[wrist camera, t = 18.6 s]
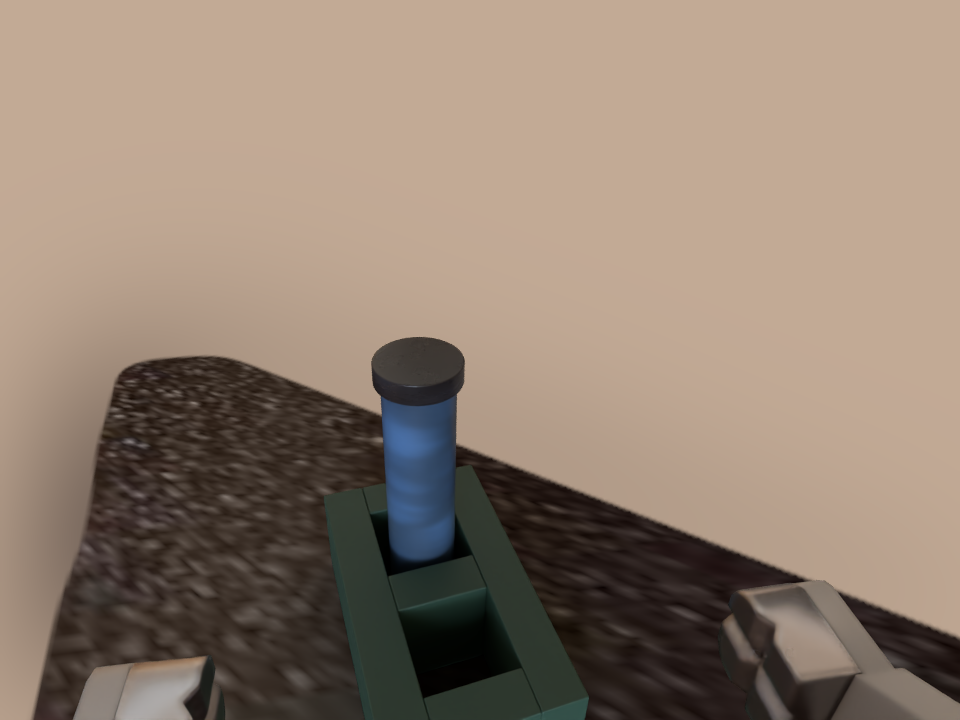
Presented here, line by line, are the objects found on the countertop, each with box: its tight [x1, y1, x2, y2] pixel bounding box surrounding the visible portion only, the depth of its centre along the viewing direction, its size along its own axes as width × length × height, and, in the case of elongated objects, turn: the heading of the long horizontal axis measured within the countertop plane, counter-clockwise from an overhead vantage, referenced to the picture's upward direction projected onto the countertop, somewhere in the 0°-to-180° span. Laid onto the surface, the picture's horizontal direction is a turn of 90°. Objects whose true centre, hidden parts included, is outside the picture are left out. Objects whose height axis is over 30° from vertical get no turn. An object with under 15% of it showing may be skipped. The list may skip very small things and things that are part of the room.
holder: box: [324, 465, 589, 720], centre depth 32 cm, size 8×14×5 cm, turn 19°
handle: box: [371, 337, 465, 575], centre depth 31 cm, size 4×4×15 cm
